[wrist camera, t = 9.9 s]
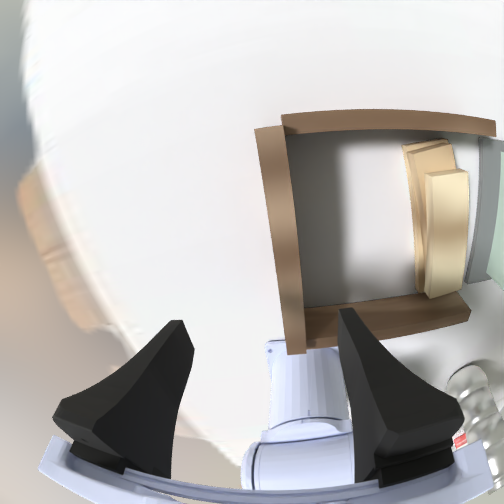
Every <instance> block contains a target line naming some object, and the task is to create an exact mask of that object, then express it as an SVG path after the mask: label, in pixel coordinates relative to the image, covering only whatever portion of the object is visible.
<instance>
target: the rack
mask: <svg viewBox="0 0 504 504" xmlns="http://www.w3.org/2000/svg"><path fill="white" fill-rule="evenodd" d="M281 121H282V125H280V126H272V127H265V128H258V129H254V131H255V137H256V143H257V149H258V155H259V161H260V167H261V173H262V179H263V186H264V192H265V198H266V205H267V211H268V218H269V225H270V231H271V238H272V245H273V252H274V259H275V266H276V273H277V280H278V288H279V295H280V303H281V310H282V318H283V326H284V333H285V341H286V350H287V355H298V354H307V350H310V349H320V348H329V347H337V346H338V343H337V337H338V312H339V309H342V308H350V307H352V308H354V310H355V311H356V313H357V314H358V315H359V317H360V318H361V320H362V321H363V322H364V324H365V325H366V326H367V327H368V329H369V330H370V331H371V332H372V334H373V335H374V336H375V337H376V338H377V340H378V341H379V340H385V339H391V338H396V337H402V336H407V335H412V334H416V333H421V332H426V331H430V330H435V329H439V328H443V327H447V326H451V325H455V324H459V323H462V322H466V321H468V319H469V316H470V313H471V310H470V308H469V307H468V306H467V304H466V303H465V302H464V300H463V299H462V298H461V296H460V295H459V294H458V293H457V291H454V292H451V293H448V294H445V295H442V296H438V297H435V298H431V299H429V297H428V296H427V294H426V293H425V292H422V293H417V294H411V295H405V296H398V297H392V298H385V299H378V300H371V301H364V302H356V303H349V304H340V305H332V306H323V307H313V308H304V303H303V290H302V278H301V267H300V256H299V246H298V236H297V227H296V218H295V209H294V201H293V193H292V185H291V177H290V170H289V162H288V155H287V148H286V142H285V135H293V134H303V133H313V132H326V131H342V130H366V129H411V130H434V131H449V132H460V133H470V134H478V135H486V136H493V137H496V122H495V120H489V119H484V118H478V117H472V116H465V115H458V114H450V113H441V112H430V111H416V110H394V109H352V110H330V111H315V112H303V113H293V114H284V115H281Z"/></svg>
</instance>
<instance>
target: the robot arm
mask: <svg viewBox="0 0 504 504" xmlns="http://www.w3.org/2000/svg"><path fill="white" fill-rule="evenodd" d="M337 343H338V346H337V347H329V348H320V349H310V350H307V354H298V355H287V350H286V341H273V342H267V343H266V344H265V352H266V357H267V362H268V367H269V372H270V377H271V382H272V385H271V400H270V413H269V426H268V430H267V431H262V433H261V441H259V442H254V443H252V445H251V446H250V447H249V448H248V450H247V451H246V452H245V454H244V457H243V460H242V466H241V484H242V489H233V488H221V487H213V486H206V485H199V484H192V483H186V482H181V481H176V480H171V458H172V447H173V438H174V431H175V425H176V419H177V414H178V409H179V405H180V402H181V399H182V396H183V393H184V390H185V387H186V384H187V380H188V377H189V374H190V371H191V368H192V362H193V357H194V350H195V349H194V347H193V344H192V342H191V340H190V337H189V335H188V333H187V330H186V328H185V325H184V323H183V320H171V321H170V322H169V323H168V324H167V325H165V326H164V327H163V328H162V329H161V330H160V332H159V333H158V334H157V335H156V336H155V337H154V338H153V339H152V340H151V341H150V342H149V343H148V344H147V345H146V346H145V347H144V348H143V349H141V350H140V351H139V352H138V353H137V354H136V355H135V356H134V357H133V358H132V359H130V360H129V361H128V362H127V363H126V364H125V365H123V366H122V367H121V368H119V369H118V370H117V371H115V372H114V373H113V374H111V375H110V376H108V377H107V378H105V379H103V380H102V381H100V382H99V383H97V384H95V385H94V386H92V387H90V388H88V389H86V390H84V391H82V392H79V393H77V394H75V395H72V396H70V397H67V398H64V399H62V400H61V402H60V404H59V406H58V408H57V410H56V411H55V413H54V415H53V417H52V418H53V421H54V422H55V423H56V425H57V426H58V427H60V428H61V429H62V430H63V431H64V432H65V433H66V434H68V435H69V436H70V437H71V438H72V439H73V440H74V442H73V444H71V443H70V442H68V441H66V440H64V439H62V438H60V437H57V436H55V435H53V437H52V439H51V441H50V443H49V445H48V447H47V449H46V451H45V453H44V455H43V457H42V460H41V462H40V464H39V466H38V471H40V472H42V473H43V474H44V475H46V476H47V477H49V478H51V479H52V480H54V481H56V482H57V483H59V484H61V485H62V486H64V487H66V488H67V489H69V490H71V491H72V492H74V493H76V494H78V495H80V496H82V497H84V498H86V499H88V500H90V501H92V502H94V503H96V504H185V503H181V502H179V501H177V500H175V499H173V498H171V497H170V496H168V495H165V494H170V495H174V496H178V497H183V498H188V499H194V500H199V501H206V502H213V503H221V504H463V503H465V502H467V501H469V500H471V499H473V498H475V497H477V496H479V495H481V494H482V493H484V492H486V491H488V490H490V489H491V488H493V487H494V482H493V478H492V474H491V470H490V466H489V462H488V458H487V455H486V451H485V448H484V445H483V442H482V439H479V440H477V441H475V442H473V443H471V444H468V445H466V446H464V447H462V448H460V449H458V450H456V451H454V452H453V453H452V449H451V447H452V446H453V440H452V436H453V435H454V434H455V433H456V432H457V431H458V430H459V429H460V427H461V426H462V425H463V423H464V420H465V417H464V414H463V411H462V409H461V406H460V405H459V403H458V401H457V399H456V398H454V397H452V396H450V395H448V394H446V393H444V392H442V391H440V390H438V389H436V388H435V387H433V386H431V385H430V384H428V383H426V382H425V381H424V380H422V379H421V378H419V377H418V376H416V375H415V374H414V373H412V372H411V371H410V370H408V369H407V368H406V367H405V366H404V365H402V364H401V363H400V362H399V361H398V360H397V359H396V358H395V357H394V356H393V355H392V354H391V353H390V352H389V351H388V350H387V349H386V348H385V347H384V346H383V345H382V344H381V343H380V342H379V341H378V340H377V338H376V337H375V336H374V335H373V334H372V332H371V331H370V330H369V329H368V327H367V326H366V325H365V324H364V322H363V321H362V320H361V318H360V317H359V315H358V314H357V313H356V311H355V310H354V308H352V307H350V308H342V309H339V312H338V337H337ZM269 349H272V350H269ZM343 375H344V378H343ZM344 380H345V384H346V388H347V392H348V396H349V401H350V407H351V416H352V422H351V419H350V418H349V411H348V404H347V397H346V391H345V384H344ZM352 426H353V429H352ZM152 490H153V491H152ZM155 491H157V492H155ZM158 492H161V493H165V494H161V493H158Z"/></svg>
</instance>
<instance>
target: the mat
mask: <svg viewBox="0 0 504 504" xmlns="http://www.w3.org/2000/svg"><path fill="white" fill-rule="evenodd" d="M501 152H504V141H502V140H495V139H488V138H480V137H479V189H478V203H477V213H476V221H475V229H474V236H473V242H472V248H471V254H470V259H469V264H468V268H467V273H466V277H465V282H466V283H467V284H472V283H476V282H481V281H485V280H489V279H492V278H491V277H490V276H489V275H488V274H487V273H486V271H487V267H488V262H489V258H490V253H491V248H492V243H493V238H494V232H495V225H496V218H497V210H498V201H499V190H500V172H501Z"/></svg>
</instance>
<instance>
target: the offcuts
mask: <svg viewBox="0 0 504 504" xmlns="http://www.w3.org/2000/svg"><path fill="white" fill-rule="evenodd" d="M402 150H403V155H404V160H405V166H406V172H407V178H408V185H409V192H410V200H411V209H412V219H413V232H414V248H415V289H416V290H417V292H418V293H421V292H424V291H425V293H426V294H427V296H428V297H429V299H431V298H435V297H438V296H442V295H445V294H448V293H451V292H454V291H458V290H461V288H462V281H463V275H464V267H465V259H466V249H467V236H468V216H469V184H468V172H467V171H465V170H462V169H456V166H455V160H454V154H453V149H452V145H451V144H449V143H448V139H444V138H440V139H434V140H427V141H421V142H415V143H410V144H404V145H402Z"/></svg>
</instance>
